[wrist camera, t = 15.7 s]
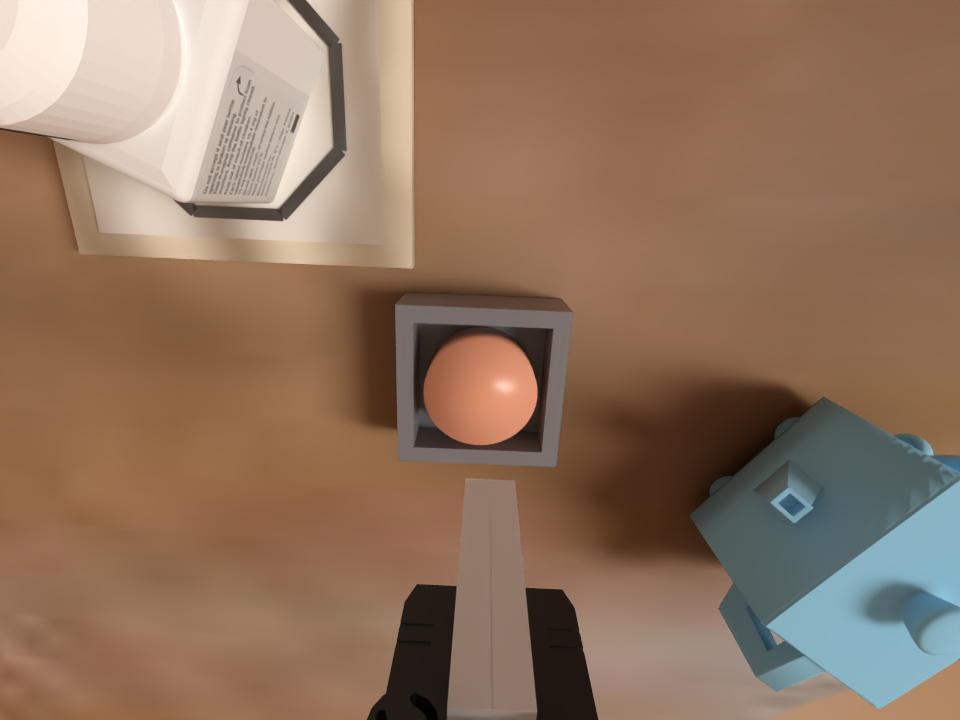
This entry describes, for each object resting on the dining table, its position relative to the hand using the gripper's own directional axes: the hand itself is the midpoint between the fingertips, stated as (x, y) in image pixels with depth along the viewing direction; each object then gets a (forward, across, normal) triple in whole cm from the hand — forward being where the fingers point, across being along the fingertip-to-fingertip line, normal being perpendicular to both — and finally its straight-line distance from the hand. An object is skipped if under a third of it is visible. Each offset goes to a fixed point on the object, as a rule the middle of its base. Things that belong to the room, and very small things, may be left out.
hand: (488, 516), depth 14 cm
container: (+13, -13, +14) cm, 23 cm away
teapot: (+15, +21, -9) cm, 27 cm away
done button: (+13, 0, 0) cm, 13 cm away
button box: (+14, 0, -1) cm, 14 cm away
